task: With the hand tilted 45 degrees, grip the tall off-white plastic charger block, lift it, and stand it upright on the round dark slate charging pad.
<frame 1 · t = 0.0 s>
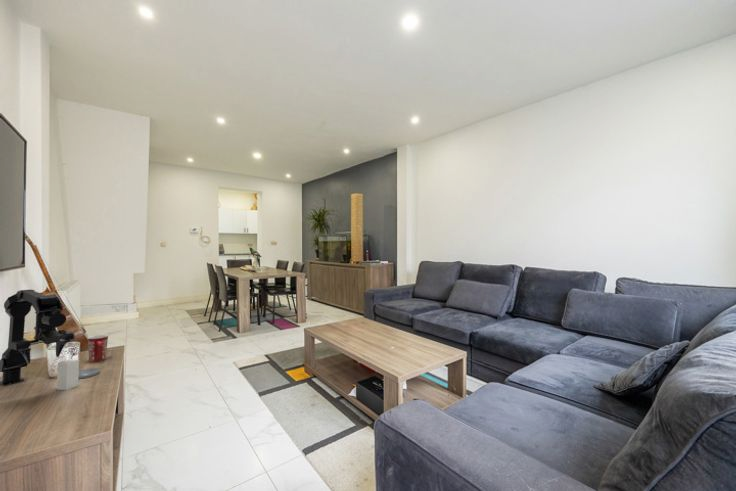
hand: (43, 360, 134), 15 cm above the tv stand, tool pointing down, fingers open, 9 cm apart
mug: (97, 361, 174), on the tv stand
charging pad: (85, 374, 154), on the tv stand
charger block: (67, 387, 140), on the tv stand
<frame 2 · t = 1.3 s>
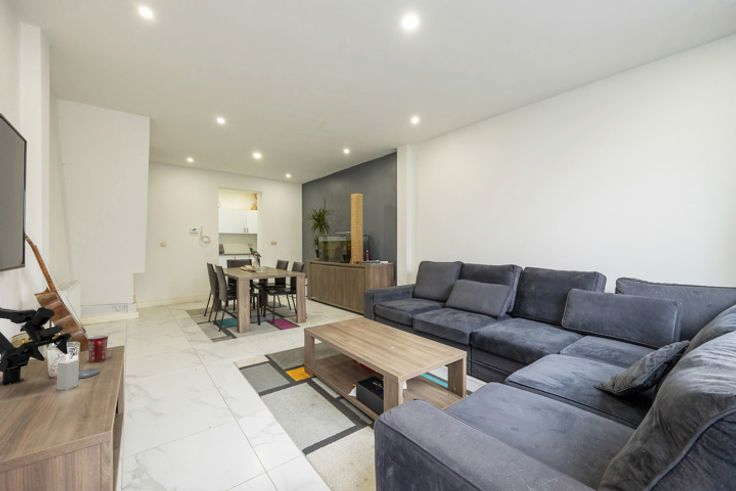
hand: (55, 357, 142), 13 cm above the tv stand, tool tilted 45°, fingers open, 9 cm apart
nothing on the tv stand moved.
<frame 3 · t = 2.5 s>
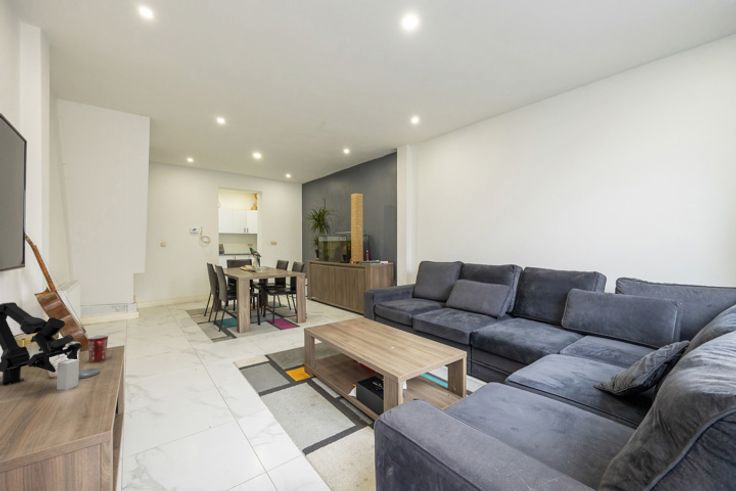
hand: (66, 367, 141), 9 cm above the tv stand, tool tilted 45°, fingers open, 9 cm apart
nothing on the tv stand moved.
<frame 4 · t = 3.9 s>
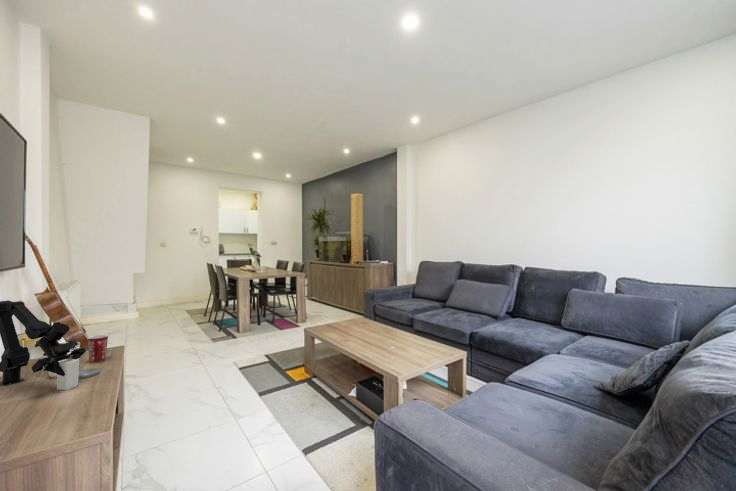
hand: (70, 373, 140), 7 cm above the tv stand, tool tilted 45°, fingers closed on charger block, 5 cm apart
charger block: (67, 387, 140), on the tv stand, touching gripper
everything else where it was.
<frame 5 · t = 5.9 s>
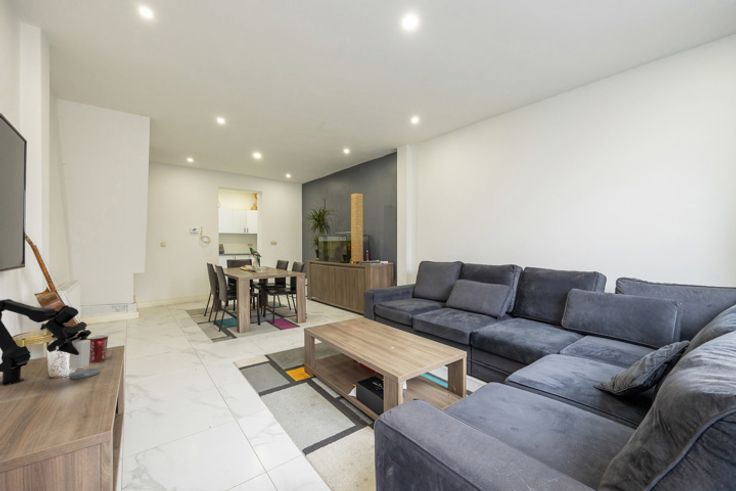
hand: (83, 352, 148), 13 cm above the tv stand, tool tilted 45°, fingers closed on charger block, 5 cm apart
charger block: (79, 366, 148), point 7 cm above the tv stand, touching gripper
everything else where it was.
when the fingers open (9 cm above the tv stand, at t = 8.0 s): charger block drops 1 cm, resting on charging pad.
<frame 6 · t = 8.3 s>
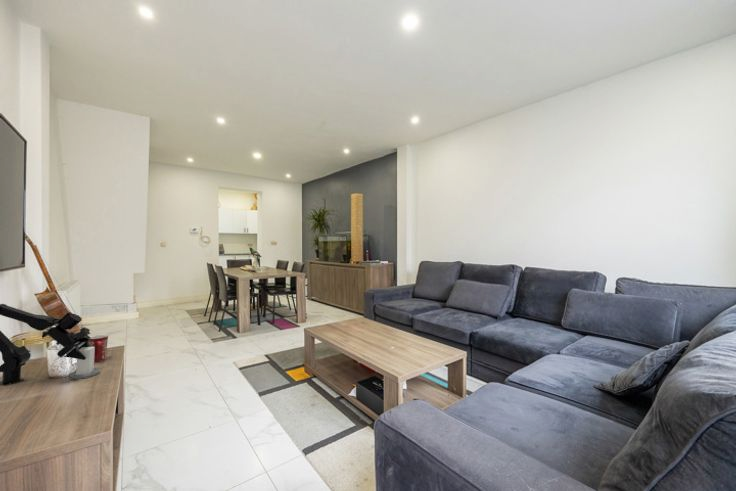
hand: (89, 356, 155), 9 cm above the tv stand, tool tilted 45°, fingers open, 8 cm apart
charger block: (85, 372, 154), point 1 cm above the tv stand, touching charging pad
everything else where it was.
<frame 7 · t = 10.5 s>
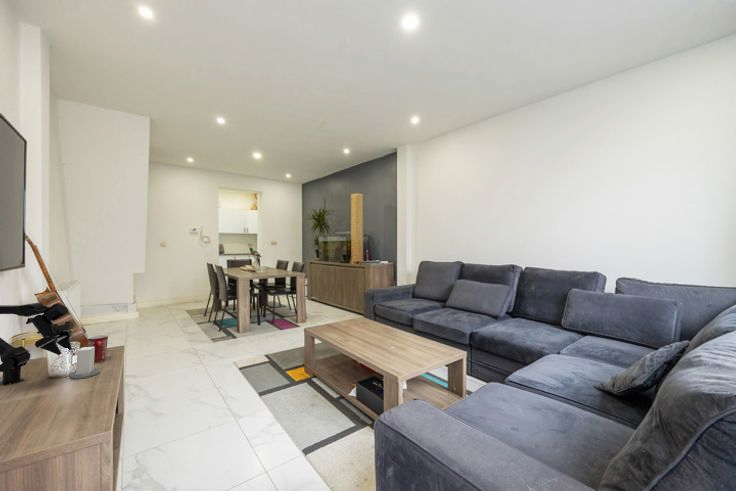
hand: (65, 352, 150), 13 cm above the tv stand, tool tilted 35°, fingers open, 9 cm apart
nothing on the tv stand moved.
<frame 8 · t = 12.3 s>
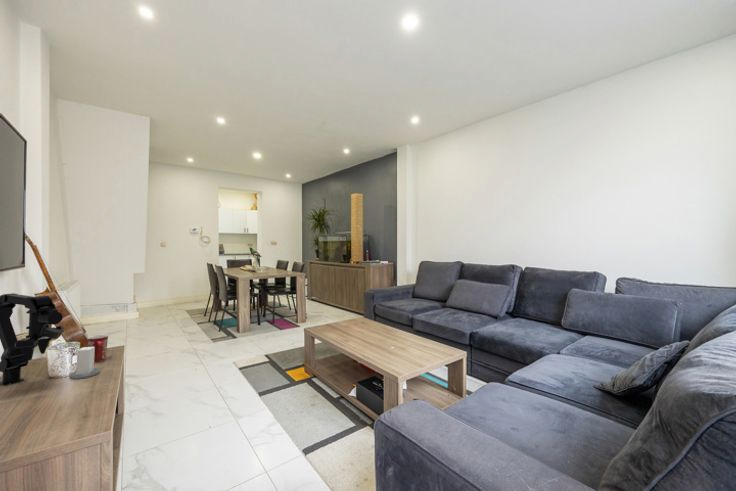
hand: (36, 356, 142), 13 cm above the tv stand, tool pointing down, fingers open, 9 cm apart
nothing on the tv stand moved.
at the end: charger block 0.0 cm from the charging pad (horizontally); charger block tilted 0°; charger block touching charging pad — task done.
